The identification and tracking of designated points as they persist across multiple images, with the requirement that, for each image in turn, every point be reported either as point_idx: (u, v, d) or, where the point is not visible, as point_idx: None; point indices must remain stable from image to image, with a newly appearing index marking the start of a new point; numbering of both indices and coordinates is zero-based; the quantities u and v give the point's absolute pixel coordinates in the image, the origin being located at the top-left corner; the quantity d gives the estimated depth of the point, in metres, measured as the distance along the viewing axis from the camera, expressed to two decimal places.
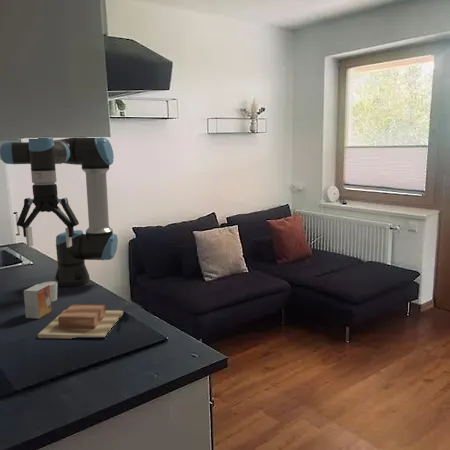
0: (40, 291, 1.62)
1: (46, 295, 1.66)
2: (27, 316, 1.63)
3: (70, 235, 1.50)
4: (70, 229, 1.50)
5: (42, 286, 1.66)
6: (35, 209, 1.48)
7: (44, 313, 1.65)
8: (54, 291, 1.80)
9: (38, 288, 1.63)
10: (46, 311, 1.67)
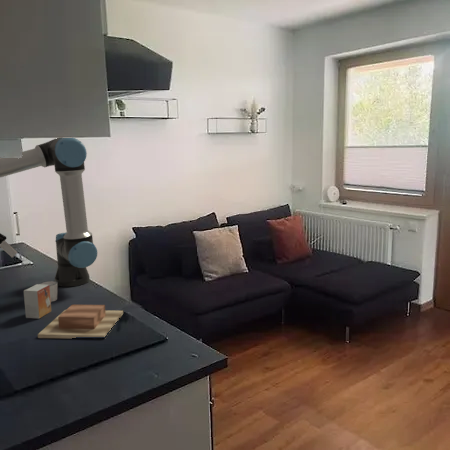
0: (40, 291, 1.62)
1: (46, 295, 1.66)
2: (27, 316, 1.63)
3: None
4: None
5: (42, 286, 1.66)
6: None
7: (44, 313, 1.65)
8: (54, 291, 1.80)
9: (38, 288, 1.63)
10: (46, 311, 1.67)
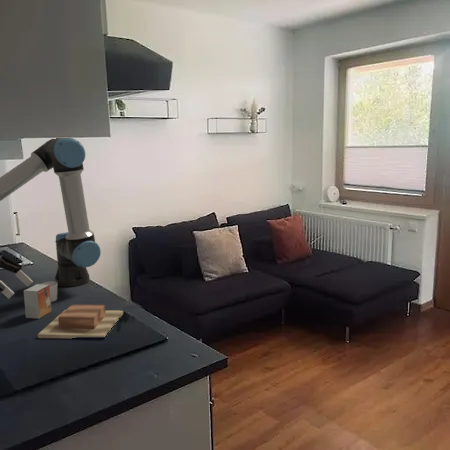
0: (40, 291, 1.62)
1: (46, 295, 1.66)
2: (27, 316, 1.63)
3: None
4: None
5: (42, 286, 1.66)
6: None
7: (44, 313, 1.65)
8: (54, 291, 1.80)
9: (38, 288, 1.63)
10: (46, 311, 1.67)
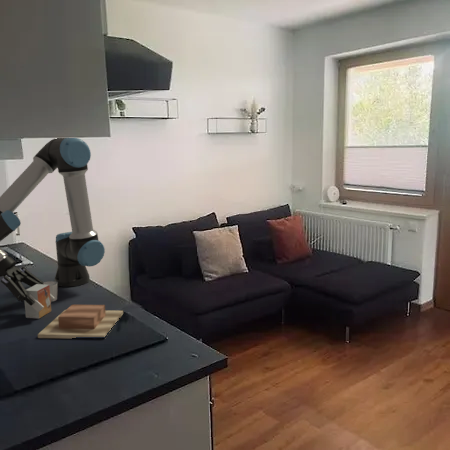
0: (40, 291, 1.62)
1: (46, 295, 1.66)
2: (27, 316, 1.63)
3: None
4: None
5: (42, 286, 1.66)
6: None
7: (44, 313, 1.65)
8: (54, 291, 1.80)
9: (38, 288, 1.63)
10: (46, 311, 1.67)
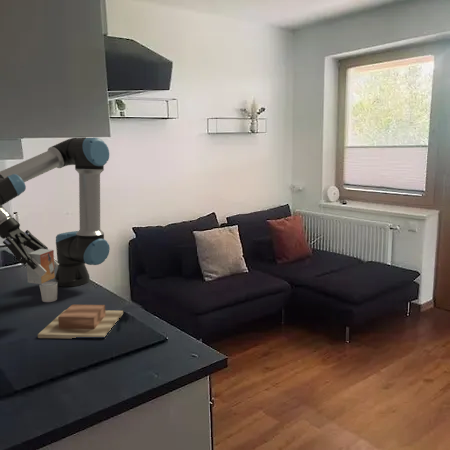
0: (43, 255, 1.55)
1: (49, 260, 1.58)
2: (29, 281, 1.56)
3: None
4: None
5: (46, 250, 1.58)
6: None
7: (47, 279, 1.58)
8: (54, 291, 1.80)
9: (41, 252, 1.56)
10: (49, 277, 1.59)
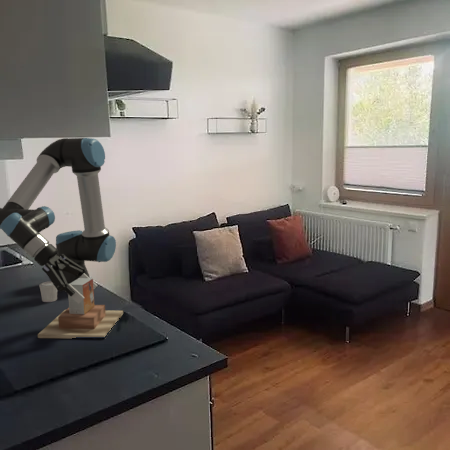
0: (85, 285, 1.52)
1: (90, 290, 1.55)
2: (71, 312, 1.52)
3: None
4: None
5: (86, 280, 1.55)
6: None
7: (88, 309, 1.55)
8: (54, 291, 1.80)
9: (82, 282, 1.53)
10: (90, 306, 1.56)
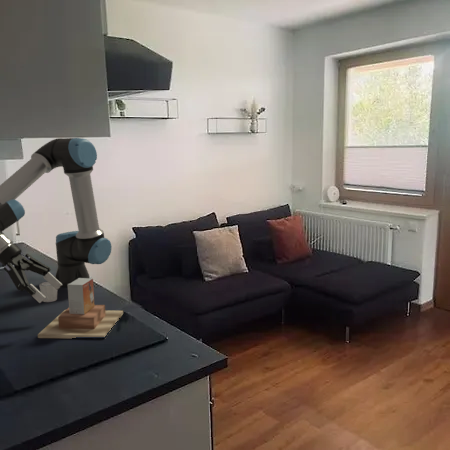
0: (85, 285, 1.52)
1: (90, 290, 1.55)
2: (71, 312, 1.52)
3: None
4: None
5: (86, 280, 1.55)
6: None
7: (88, 309, 1.55)
8: (54, 291, 1.80)
9: (82, 282, 1.53)
10: (90, 306, 1.56)
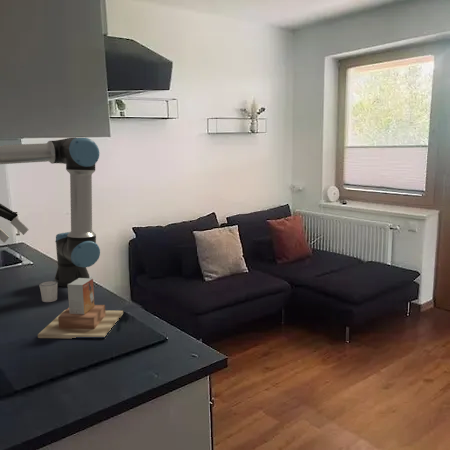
0: (85, 285, 1.52)
1: (90, 290, 1.55)
2: (71, 312, 1.52)
3: None
4: None
5: (86, 280, 1.55)
6: None
7: (88, 309, 1.55)
8: (54, 291, 1.80)
9: (82, 282, 1.53)
10: (90, 306, 1.56)
